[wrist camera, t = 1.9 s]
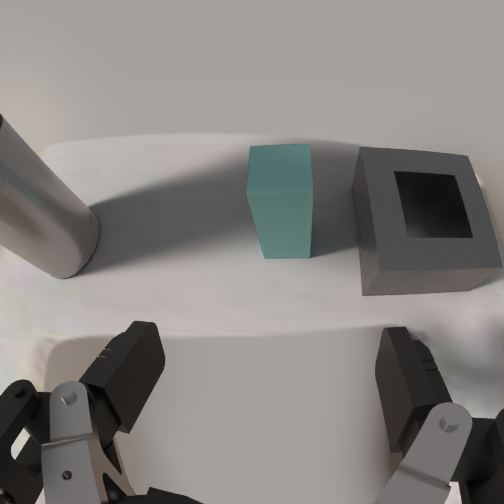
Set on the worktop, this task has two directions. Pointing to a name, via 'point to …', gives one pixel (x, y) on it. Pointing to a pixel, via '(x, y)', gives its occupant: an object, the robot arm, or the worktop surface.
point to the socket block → (421, 223)
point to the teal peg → (281, 198)
